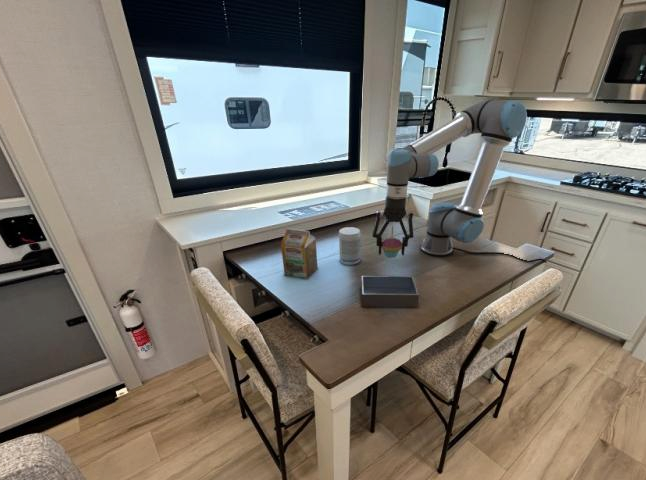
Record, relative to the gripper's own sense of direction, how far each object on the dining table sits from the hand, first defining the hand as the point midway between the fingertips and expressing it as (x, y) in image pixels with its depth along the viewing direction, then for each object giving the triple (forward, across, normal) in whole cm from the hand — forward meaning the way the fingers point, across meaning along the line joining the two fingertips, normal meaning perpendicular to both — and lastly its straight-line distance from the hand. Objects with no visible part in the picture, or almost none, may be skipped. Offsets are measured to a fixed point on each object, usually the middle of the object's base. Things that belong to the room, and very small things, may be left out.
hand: (391, 253), depth 129 cm
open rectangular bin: (+11, -2, -15) cm, 19 cm away
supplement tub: (+12, -17, +16) cm, 26 cm away
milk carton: (+12, -38, +5) cm, 40 cm away
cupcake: (+1, 0, 0) cm, 1 cm away
